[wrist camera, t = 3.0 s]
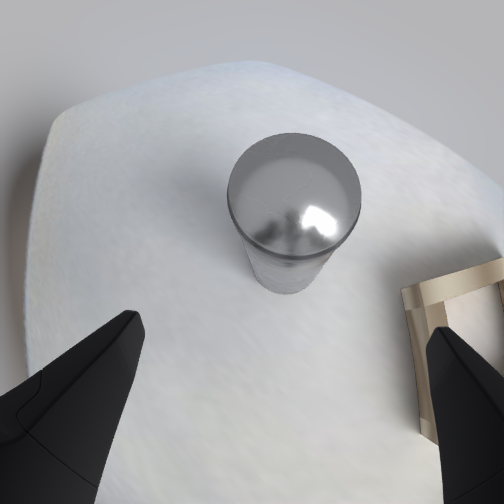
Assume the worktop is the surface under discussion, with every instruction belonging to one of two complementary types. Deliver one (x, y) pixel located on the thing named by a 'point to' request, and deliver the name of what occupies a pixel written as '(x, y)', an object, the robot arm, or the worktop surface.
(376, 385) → the worktop surface
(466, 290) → the collar
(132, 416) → the worktop surface
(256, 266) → the silver metal canister
